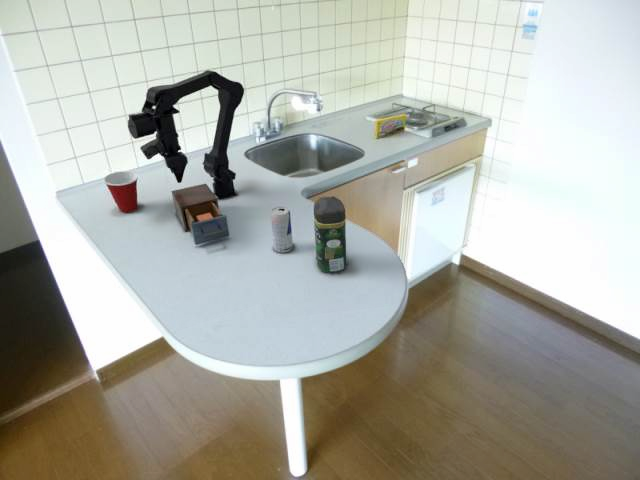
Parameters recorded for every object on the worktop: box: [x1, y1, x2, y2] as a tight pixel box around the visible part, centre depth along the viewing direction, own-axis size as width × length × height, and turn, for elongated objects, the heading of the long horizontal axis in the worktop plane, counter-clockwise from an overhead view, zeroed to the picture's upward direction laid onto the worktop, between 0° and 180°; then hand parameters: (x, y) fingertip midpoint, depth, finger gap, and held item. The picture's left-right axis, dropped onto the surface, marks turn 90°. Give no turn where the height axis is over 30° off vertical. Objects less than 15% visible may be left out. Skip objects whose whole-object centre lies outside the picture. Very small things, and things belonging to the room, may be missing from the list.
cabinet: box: [170, 183, 220, 232], centre depth 149 cm, size 13×11×8 cm
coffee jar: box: [313, 196, 347, 274], centre depth 121 cm, size 10×8×19 cm
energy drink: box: [270, 206, 294, 253], centre depth 130 cm, size 5×5×12 cm
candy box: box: [373, 113, 407, 140], centre depth 211 cm, size 16×2×8 cm, turn 120°
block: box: [196, 213, 213, 222], centre depth 140 cm, size 4×4×4 cm
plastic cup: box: [102, 170, 139, 214], centre depth 156 cm, size 11×11×12 cm
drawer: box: [184, 202, 230, 246], centre depth 138 cm, size 17×10×7 cm, turn 27°
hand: (176, 177), depth 150 cm, fingers open, 9 cm apart
